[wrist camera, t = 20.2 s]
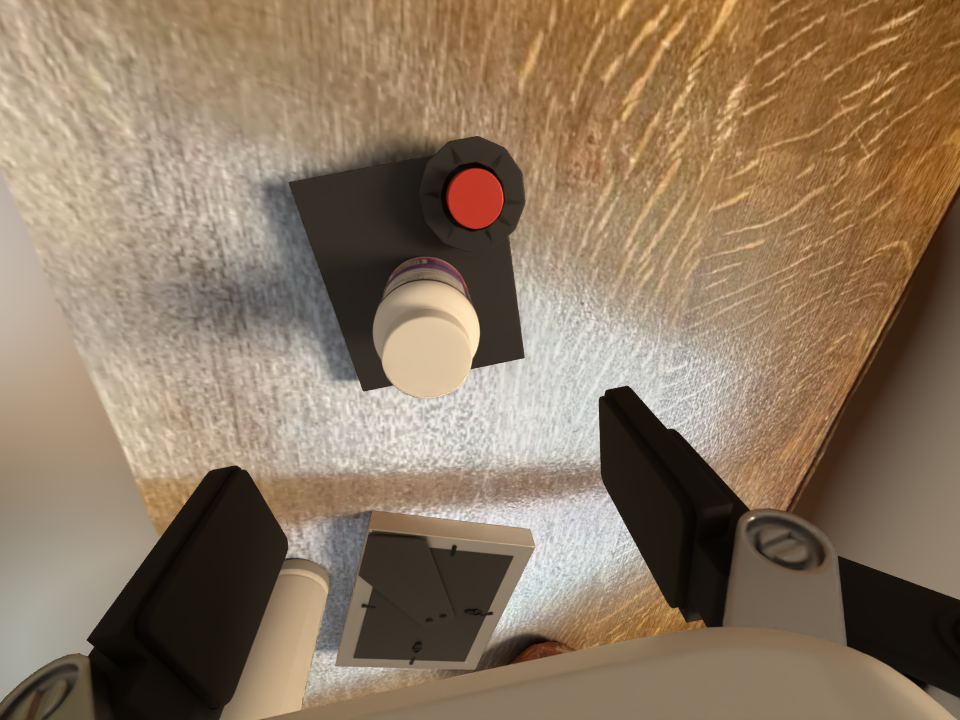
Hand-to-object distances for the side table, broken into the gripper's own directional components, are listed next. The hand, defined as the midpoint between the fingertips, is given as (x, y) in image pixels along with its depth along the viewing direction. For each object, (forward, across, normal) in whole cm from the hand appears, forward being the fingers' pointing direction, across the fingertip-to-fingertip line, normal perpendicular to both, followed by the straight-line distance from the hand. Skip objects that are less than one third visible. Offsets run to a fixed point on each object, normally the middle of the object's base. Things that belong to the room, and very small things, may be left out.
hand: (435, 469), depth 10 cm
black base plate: (+19, +1, 0) cm, 19 cm away
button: (+16, -3, -5) cm, 17 cm away
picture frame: (+19, +8, +32) cm, 38 cm away
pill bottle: (+17, 0, 0) cm, 17 cm away
